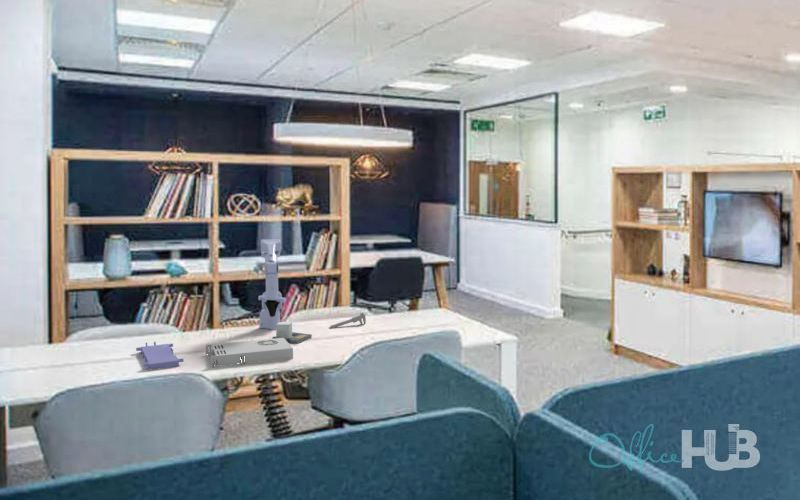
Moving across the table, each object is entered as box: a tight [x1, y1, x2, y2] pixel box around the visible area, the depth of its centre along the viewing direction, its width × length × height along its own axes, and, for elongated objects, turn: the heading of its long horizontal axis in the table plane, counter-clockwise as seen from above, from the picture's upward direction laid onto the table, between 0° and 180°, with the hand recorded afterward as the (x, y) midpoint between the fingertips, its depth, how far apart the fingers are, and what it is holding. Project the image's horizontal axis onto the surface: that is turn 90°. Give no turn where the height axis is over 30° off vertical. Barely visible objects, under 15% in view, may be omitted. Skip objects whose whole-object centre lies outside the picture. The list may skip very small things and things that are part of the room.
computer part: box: [135, 341, 184, 370], centre depth 265 cm, size 30×4×15 cm
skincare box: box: [275, 321, 293, 338], centre depth 298 cm, size 6×6×7 cm
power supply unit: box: [205, 338, 294, 367], centre depth 268 cm, size 19×33×5 cm, turn 112°
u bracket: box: [271, 331, 313, 345], centre depth 297 cm, size 14×12×2 cm
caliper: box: [328, 312, 366, 329], centre depth 323 cm, size 20×1×6 cm, turn 122°
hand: (272, 316), depth 302 cm, fingers closed
